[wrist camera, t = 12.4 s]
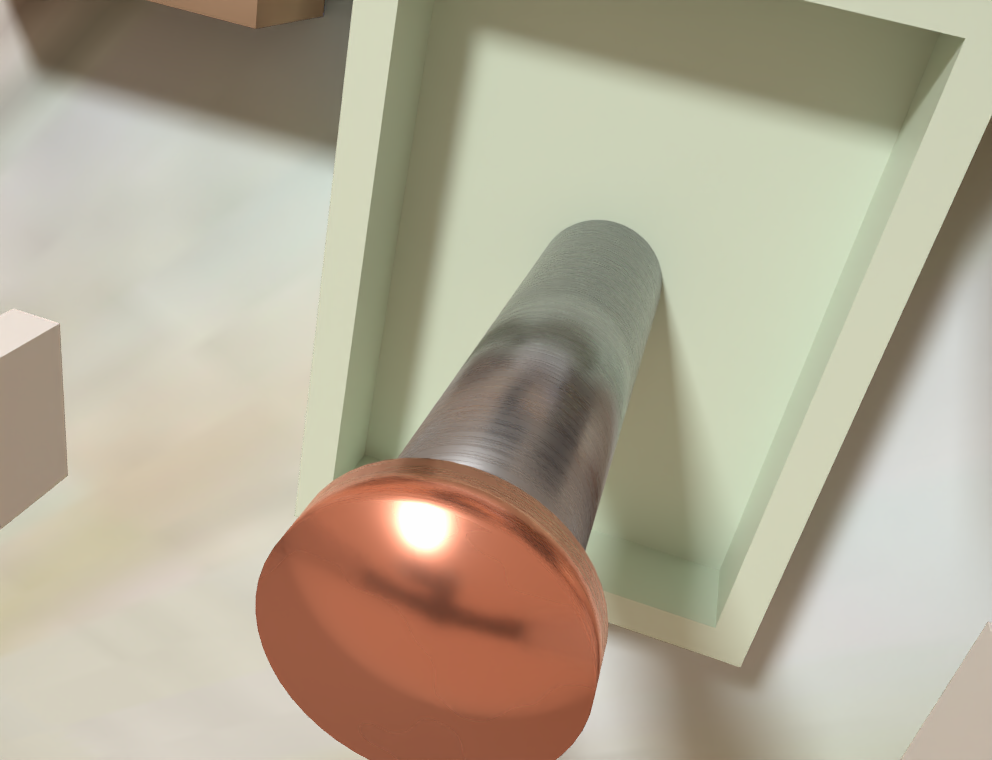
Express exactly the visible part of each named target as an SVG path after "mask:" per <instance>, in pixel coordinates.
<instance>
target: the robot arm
mask: <svg viewBox="0 0 992 760" xmlns="http://www.w3.org/2000/svg"><path fill="white" fill-rule="evenodd" d="M67 476H68V469H67V450H66V431H65V412H64V394H63V375H62V356H61V337H60V323H57V322H54V321H51V320H48V319H45V318H41V317H38V316H35V315H32V314H29V313H26V312H23V311H20V310H17V309H11V310H10V311H8V312H6V313H4V314H2V315H0V529H2V528H3V527H4V526H5V525H7V524H8V523H9V522H10V521H12V520H13V519H14V518H15V517H17V516H18V515H19V514H20V513H22V512H23V511H24V510H25V509H27V508H28V507H29V506H30V505H32V504H33V503H34V502H35V501H37V500H38V499H39V498H40V497H42V496H43V495H44V494H45V493H47V492H48V491H49V490H50V489H52V488H53V487H54V486H55V485H57V484H58V483H59V482H60V481H62V480H63V479H64V478H65V477H67ZM901 760H992V623H990V622H988V623H987V624H986V626H985V627H984V629H983V630H982V632H981V634H980V635H979V637H978V638H977V640H976V641H975V643H974V645H973V646H972V648H971V649H970V651H969V652H968V654H967V656H966V657H965V659H964V660H963V662H962V663H961V665H960V667H959V668H958V670H957V671H956V673H955V675H954V676H953V678H952V679H951V681H950V682H949V684H948V686H947V687H946V689H945V690H944V692H943V693H942V695H941V697H940V698H939V700H938V701H937V703H936V704H935V706H934V708H933V709H932V711H931V712H930V714H929V715H928V717H927V719H926V720H925V722H924V723H923V725H922V727H921V728H920V730H919V731H918V733H917V734H916V736H915V738H914V739H913V741H912V742H911V744H910V745H909V747H908V749H907V750H906V752H905V753H904V755H903V756H902V758H901Z"/></svg>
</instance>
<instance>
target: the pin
mask: <svg viewBox="0 0 992 760" xmlns="http://www.w3.org/2000/svg"><path fill="white" fill-rule="evenodd" d="M661 291H662V273H661V267H660V264H659V261H658V259H657V257H656V255H655V252H654V251H653V249H652V248H651V246H650V245H649V244H648V243H647V242H646V240H645V239H644V238H643V237H641V236H640V235H639V234H638V233H637V232H635V231H634V230H632V229H630V228H628V227H626V226H624V225H622V224H619V223H616V222H612V221H607V220H589V221H583V222H580V223H576V224H574V225H572V226H570V227H567V228H566V229H564V230H563V231H561V232H560V233H559V234H558V235H557V236H555V237H554V238H553V240H552V241H551V242H550V243H549V244H548V246H547V247H546V249H545V250H544V252H543V253H542V254H541V256H540V257H539V259H538V260H537V261H536V263H535V264H534V266H533V267H532V269H531V270H530V271H529V273H528V274H527V276H526V277H525V278H524V280H523V281H522V283H521V284H520V285H519V287H518V288H517V290H516V291H515V293H514V294H513V295H512V297H511V298H510V300H509V301H508V302H507V304H506V305H505V307H504V308H503V310H502V311H501V312H500V314H499V315H498V317H497V318H496V319H495V321H494V322H493V324H492V325H491V326H490V328H489V329H488V331H487V332H486V334H485V335H484V336H483V338H482V339H481V341H480V342H479V343H478V345H477V346H476V348H475V349H474V351H473V352H472V353H471V355H470V356H469V358H468V359H467V360H466V362H465V363H464V365H463V366H462V367H461V369H460V370H459V372H458V373H457V375H456V376H455V377H454V379H453V380H452V382H451V383H450V384H449V386H448V387H447V389H446V390H445V392H444V393H443V394H442V396H441V397H440V399H439V400H438V401H437V403H436V404H435V406H434V407H433V408H432V410H431V411H430V413H429V414H428V416H427V417H426V418H425V420H424V421H423V423H422V424H421V425H420V427H419V428H418V430H417V431H416V433H415V434H414V435H413V437H412V438H411V440H410V441H409V442H408V444H407V445H406V447H405V448H404V450H403V451H402V452H401V454H400V455H399V457H398V458H397V459H388V460H382V461H378V462H374V463H370V464H366V465H363V466H361V467H358V468H356V469H353V470H351V471H348V472H347V473H345V474H343V475H342V476H340V477H338V478H336V479H335V480H333V481H332V482H331V483H329V484H328V485H327V486H326V487H325V488H323V489H322V490H321V491H320V492H319V493H318V494H317V495H316V497H315V498H314V499H313V500H312V501H311V502H310V504H309V505H308V506H307V507H306V508H305V510H304V511H303V512H302V513H301V515H300V516H299V517H298V518H297V520H296V521H295V522H294V523H293V525H292V526H291V527H290V528H289V530H288V531H287V532H286V533H285V534H284V536H283V537H282V538H281V539H280V541H279V542H278V543H277V544H276V546H275V547H274V548H273V550H272V551H271V553H270V555H269V557H268V558H267V560H266V562H265V563H264V566H263V569H262V572H261V574H260V577H259V581H258V586H257V592H256V619H257V626H258V632H259V635H260V639H261V642H262V646H263V649H264V651H265V654H266V656H267V658H268V661H269V663H270V665H271V667H272V669H273V671H274V672H275V674H276V676H277V678H278V679H279V681H280V683H281V684H282V685H283V687H284V688H285V690H286V691H287V692H288V694H289V695H290V696H291V698H292V699H293V700H294V701H295V702H296V704H297V705H298V706H299V707H300V708H301V709H302V710H303V711H304V713H305V714H306V715H307V716H309V717H310V718H311V719H312V720H313V721H314V722H315V723H316V724H317V725H318V726H319V727H320V728H322V729H323V730H324V731H325V732H327V733H328V734H329V735H331V736H332V737H333V738H334V739H336V740H337V741H338V742H340V743H342V744H343V745H345V746H346V747H348V748H349V749H351V750H352V751H354V752H356V753H357V754H359V755H361V756H363V757H365V758H367V759H369V760H556V759H557V758H559V757H560V756H561V755H562V754H563V753H564V752H565V751H566V750H567V749H568V748H569V747H570V746H571V745H572V744H573V743H574V742H575V740H576V739H577V737H578V736H579V735H580V733H581V732H582V730H583V728H584V726H585V724H586V722H587V720H588V717H589V715H590V712H591V708H592V704H593V700H594V696H595V692H596V687H597V683H598V679H599V674H600V670H601V665H602V661H603V656H604V652H605V648H606V643H607V635H608V613H607V604H606V600H605V596H604V592H603V588H602V585H601V582H600V580H599V577H598V575H597V572H596V570H595V567H594V566H593V564H592V562H591V560H590V559H589V557H588V555H587V553H586V552H585V550H586V547H587V544H588V540H589V537H590V533H591V530H592V527H593V523H594V520H595V516H596V513H597V510H598V506H599V503H600V499H601V496H602V493H603V489H604V486H605V483H606V479H607V476H608V472H609V469H610V466H611V462H612V459H613V455H614V452H615V449H616V445H617V442H618V438H619V435H620V432H621V428H622V425H623V421H624V418H625V415H626V411H627V408H628V404H629V401H630V398H631V394H632V391H633V387H634V384H635V381H636V377H637V374H638V371H639V367H640V364H641V360H642V357H643V354H644V350H645V347H646V343H647V340H648V337H649V333H650V330H651V326H652V323H653V320H654V316H655V313H656V309H657V306H658V303H659V299H660V295H661Z"/></svg>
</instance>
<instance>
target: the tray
mask: <svg viewBox="0 0 992 760" xmlns="http://www.w3.org/2000/svg"><path fill="white" fill-rule="evenodd" d="M991 116H992V0H353V6H352V15H351V24H350V32H349V41H348V50H347V59H346V68H345V76H344V85H343V94H342V103H341V112H340V120H339V129H338V138H337V147H336V156H335V164H334V173H333V182H332V191H331V200H330V208H329V217H328V226H327V235H326V243H325V252H324V261H323V270H322V279H321V287H320V296H319V305H318V314H317V323H316V331H315V340H314V349H313V358H312V367H311V375H310V384H309V393H308V402H307V411H306V419H305V428H304V437H303V446H302V455H301V463H300V472H299V481H298V490H297V499H296V507H295V516H296V517H299V516H300V515H301V513H302V512H303V511H304V510H305V508H306V507H307V506H308V505H309V504H310V502H311V501H312V500H313V499H314V498H315V497H316V495H317V494H318V493H319V492H320V491H321V490H322V489H323V488H325V487H326V486H327V485H328V484H329V483H331V482H332V481H333V480H335V479H336V478H338V477H340V476H342V475H343V474H345V473H347V472H348V471H351V470H353V469H356V468H358V467H361V466H363V465H366V464H370V463H374V462H378V461H382V460H388V459H397V458H398V457H399V455H400V454H401V452H402V451H403V450H404V448H405V447H406V445H407V444H408V442H409V441H410V440H411V438H412V437H413V435H414V434H415V433H416V431H417V430H418V428H419V427H420V425H421V424H422V423H423V421H424V420H425V418H426V417H427V416H428V414H429V413H430V411H431V410H432V408H433V407H434V406H435V404H436V403H437V401H438V400H439V399H440V397H441V396H442V394H443V393H444V392H445V390H446V389H447V387H448V386H449V384H450V383H451V382H452V380H453V379H454V377H455V376H456V375H457V373H458V372H459V370H460V369H461V367H462V366H463V365H464V363H465V362H466V360H467V359H468V358H469V356H470V355H471V353H472V352H473V351H474V349H475V348H476V346H477V345H478V343H479V342H480V341H481V339H482V338H483V336H484V335H485V334H486V332H487V331H488V329H489V328H490V326H491V325H492V324H493V322H494V321H495V319H496V318H497V317H498V315H499V314H500V312H501V311H502V310H503V308H504V307H505V305H506V304H507V302H508V301H509V300H510V298H511V297H512V295H513V294H514V293H515V291H516V290H517V288H518V287H519V285H520V284H521V283H522V281H523V280H524V278H525V277H526V276H527V274H528V273H529V271H530V270H531V269H532V267H533V266H534V264H535V263H536V261H537V260H538V259H539V257H540V256H541V254H542V253H543V252H544V250H545V249H546V247H547V246H548V244H549V243H550V242H551V241H552V240H553V238H554V237H555V236H557V235H558V234H559V233H560V232H561V231H563V230H564V229H566V228H567V227H570V226H572V225H574V224H576V223H580V222H583V221H589V220H607V221H612V222H616V223H619V224H622V225H624V226H626V227H628V228H630V229H632V230H634V231H635V232H637V233H638V234H639V235H640V236H641V237H643V238H644V239H645V240H646V242H647V243H648V244H649V245H650V246H651V248H652V249H653V251H654V252H655V255H656V257H657V259H658V261H659V264H660V267H661V273H662V291H661V295H660V299H659V303H658V306H657V309H656V313H655V316H654V320H653V323H652V326H651V330H650V333H649V337H648V340H647V343H646V347H645V350H644V354H643V357H642V360H641V364H640V367H639V371H638V374H637V377H636V381H635V384H634V387H633V391H632V394H631V398H630V401H629V404H628V408H627V411H626V415H625V418H624V421H623V425H622V428H621V432H620V435H619V438H618V442H617V445H616V449H615V452H614V455H613V459H612V462H611V466H610V469H609V472H608V476H607V479H606V483H605V486H604V489H603V493H602V496H601V499H600V503H599V506H598V510H597V513H596V516H595V520H594V523H593V527H592V530H591V533H590V537H589V540H588V544H587V547H586V550H585V552H586V553H587V555H588V557H589V559H590V560H591V562H592V564H593V566H594V567H595V570H596V572H597V575H598V577H599V580H600V582H601V585H602V588H603V592H604V596H605V600H606V604H607V613H608V623H611V624H614V625H617V626H619V627H622V628H625V629H628V630H631V631H634V632H637V633H640V634H643V635H646V636H649V637H652V638H655V639H658V640H661V641H664V642H667V643H669V644H672V645H675V646H678V647H681V648H684V649H687V650H690V651H693V652H696V653H699V654H702V655H705V656H708V657H711V658H714V659H716V660H719V661H722V662H725V663H728V664H731V665H734V666H737V667H741V665H742V663H743V661H744V659H745V656H746V654H747V652H748V650H749V648H750V645H751V643H752V641H753V639H754V637H755V634H756V632H757V630H758V628H759V626H760V623H761V621H762V619H763V617H764V615H765V612H766V610H767V608H768V606H769V604H770V601H771V599H772V597H773V595H774V593H775V590H776V588H777V586H778V584H779V582H780V579H781V577H782V575H783V573H784V571H785V568H786V566H787V564H788V562H789V560H790V558H791V555H792V553H793V551H794V549H795V547H796V544H797V542H798V540H799V538H800V536H801V533H802V531H803V529H804V527H805V525H806V522H807V520H808V518H809V516H810V514H811V511H812V509H813V507H814V505H815V503H816V500H817V498H818V496H819V494H820V492H821V489H822V487H823V485H824V483H825V481H826V478H827V476H828V474H829V472H830V470H831V467H832V465H833V463H834V461H835V459H836V456H837V454H838V452H839V450H840V448H841V445H842V443H843V441H844V439H845V437H846V434H847V432H848V430H849V428H850V426H851V423H852V421H853V419H854V417H855V415H856V413H857V410H858V408H859V406H860V404H861V402H862V399H863V397H864V395H865V393H866V391H867V388H868V386H869V384H870V382H871V380H872V377H873V375H874V373H875V371H876V369H877V366H878V364H879V362H880V360H881V358H882V355H883V353H884V351H885V349H886V347H887V344H888V342H889V340H890V338H891V336H892V333H893V331H894V329H895V327H896V325H897V322H898V320H899V318H900V316H901V314H902V311H903V309H904V307H905V305H906V303H907V300H908V298H909V296H910V294H911V292H912V289H913V287H914V285H915V283H916V281H917V278H918V276H919V274H920V272H921V270H922V268H923V265H924V263H925V261H926V259H927V257H928V254H929V252H930V250H931V248H932V246H933V243H934V241H935V239H936V237H937V235H938V232H939V230H940V228H941V226H942V224H943V221H944V219H945V217H946V215H947V213H948V210H949V208H950V206H951V204H952V202H953V199H954V197H955V195H956V193H957V191H958V188H959V186H960V184H961V182H962V180H963V177H964V175H965V173H966V171H967V169H968V166H969V164H970V162H971V160H972V158H973V155H974V153H975V151H976V149H977V147H978V144H979V142H980V140H981V138H982V136H983V134H984V131H985V129H986V127H987V125H988V123H989V120H990V118H991Z"/></svg>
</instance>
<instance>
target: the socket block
mask: <svg viewBox="0 0 992 760" xmlns="http://www.w3.org/2000/svg"><path fill="white" fill-rule="evenodd" d="M147 1H151V2H155V3H159V4H163V5H166V6H170V7H174V8H178V9H182V10H186V11H189V12H193V13H197V14H201V15H205V16H209V17H212V18H216V19H220V20H224V21H228V22H231V23H235V24H239V25H243V26H247V27H251V28H254V29H257V28H263V27H268V26H273V25H279V24H284V23H290V22H295V21H301V20H306V19H311V18H317V17H322V16H323V13H324V3H325V0H147Z"/></svg>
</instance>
